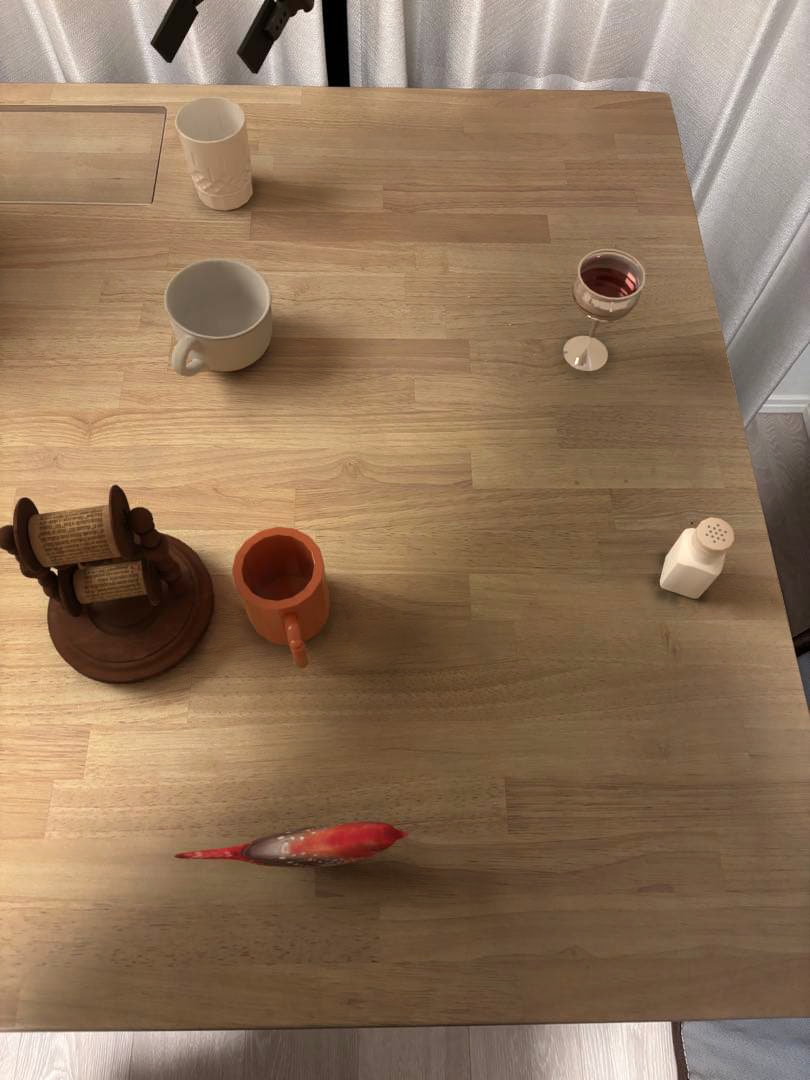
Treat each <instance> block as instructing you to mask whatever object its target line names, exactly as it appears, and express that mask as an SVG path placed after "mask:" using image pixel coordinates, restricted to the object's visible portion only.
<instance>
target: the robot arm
mask: <svg viewBox="0 0 810 1080" xmlns="http://www.w3.org/2000/svg"><path fill="white" fill-rule="evenodd" d="M204 1H205V0H172V1H171V2H170V5H169V6H168V9H167V10H166V12H165V14H164V15H163V18H162V20H161V22H160V24H159V26H158V28H157V29H156V31H155V33H154V35H153V37H152V39H151V40H150V42H149V44H150V46H151V47H152V48H153V49H154V50H155V51H156V52H157V53H158V54H159V55H160V57H161V58H162V59H163V61H165V63H168V64H172V63H173V61H174V59H175V57H176V55H177V53H178V52H179V50H180V48H181V46H182V44H183V42H184V40H185V39H186V37H187V35H188V33H189V31H190V30H191V28H192V26H193V24H194V22H195V20H196V19H197V17H198V15H199V13H200V12H199V10H198V9H197V7H199V5H200V4H202V3H203V2H204ZM314 7H315V0H263V2H262V4H261V5H260V7H259V9H258V11H257V13H256V15H255V17H254V18H253V21H252V23H251V25H250V26H249V29H248V30H247V32H246V34H245V36H244V37H243V39H242V41H241V43H240V45H239V47H238V48H237V51H236V52H235V53H236V54H237V56H238V58H240V59H241V61H242V62H243V63H244V65H245V66H246V67H247V69H248V70H249V71H250V72H251V74H255V75H258V74H259V72H260V71H261V68H262V67H263V64H264V63H265V61H266V59H267V58H268V55H269V53H270V51H271V49H272V48H273V46H274V44H275V42H276V41H278V40H279V38H280V37H281V35H282V33H283V32H284V30H285V28H286V26H287V24H288V22H289V20H290V19H291V18H294V17H295V16H296V15H297V14H298V12H299V11H303V13H306V14H308V13H310V12H311V11H312V10H313V9H314Z"/></svg>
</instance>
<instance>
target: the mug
mask: <svg viewBox="0 0 810 1080" xmlns="http://www.w3.org/2000/svg"><path fill="white" fill-rule="evenodd" d="M231 573H232V579H233V583H234V587H235V589H236V592H237V594H238V596H239V598H240V601H241V603H242V607H243V608H244V611H245V612H246V615H247V618H248V620H249V622H250V623H251V625H252V627H253V629H254V630H255V631H256V632H257V634H258V635H259V636H260V637H262V638H263V639H265V640H266V641H268V642H270V643H272V644H276V645H280V646H289V649H290V652H291V655H292V658H293V661H294V664H295V666H296V667H297V668H298V669H305V668H307V667H308V665H309V663H310V661H309V656H308V652H307V647H306V643H305V642H307V641H309V640H311V639H312V638H314V637H315V636H316V635H317V634H318V633H319V632H320V631H321V630H322V629H323V627H324V626H325V625H326V623H327V621H328V618H329V615H330V609H331V597H330V592H329V586H328V585H329V584H328V581H327V573H326V568H325V563H324V558H323V555H322V551H321V549H320V547H319V546H318V544H317V543H316V542H315V541H314V540H313V538H312V537H311V536H310V535H308V534H306V533H304V532H302V531H300V530H298V529H297V528H292V527H284V526H274V527H271V528H266V529H262V530H259V531H258V532H257V533H255V534H253V535H252V536H250V537H248V538H247V539H246V540H245V541H244V542H243V543H242V545H241V546H240V548H239V549H238V550H237V551H236V553H235V555H234V560H233V563H232V568H231Z"/></svg>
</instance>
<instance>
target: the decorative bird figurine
mask: <svg viewBox="0 0 810 1080" xmlns="http://www.w3.org/2000/svg"><path fill="white" fill-rule="evenodd" d="M409 835H410V833H409V832H406V831H403V830H401V829H398V828H395V827H394V825H392V824H390V823H387V822H382V821H359V822H349V823H348V822H347V823H333V824H324V825H316V826H307V827H302V828H296V829H291V830H286V831H281V832H278V833H274V834H270V835H267V836H262V837H260V838H256V839H253V840H251V841H248V842H246V843H244V844H240V845H235V846H229V847H220V848H212V849H203V850H194V851H187V852H179V853H177V854H175V855H174V856H173V857H174V858H176V859H182V860H232V861H234V860H235V861H241V862H245V863H249V864H253V865H257V866H264V867H278V868H290V869H315V868H327V867H336V866H342V865H346V864H353V863H356V862H359V861H363V860H365V859H369V858H371V857H373V856H375V855H376V854H380V853H382V852H384V851H386V850H388V849H389V848H390V847H392V846H393V845H394V844H395V843H396V842H397V841H398V840H401V839H404V838H405V837H408V836H409Z"/></svg>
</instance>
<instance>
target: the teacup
mask: <svg viewBox="0 0 810 1080" xmlns="http://www.w3.org/2000/svg"><path fill="white" fill-rule="evenodd" d="M163 297H164V298H163V303H164V310H165V312H166V314H167V316H168V318H169V321H170V325H171V328H172V332H173V335H174V337H175V340H176V342H177V343H176V344H175V346H174V348H173V351H172V354H171V359H170V362H171V368H172V370H173V371H174V373H176V374H177V375H179V376H181V377H185V378H191V377H194V376H196V375H198V374H199V373H205V372H206V371H208V370H209V371H215V372H234V371H238V370H241V369H244V368H246V367H249V366H251V365H252V364H253V363H256V361H258V360H259V359H260V358H261V357H262V356H263V355H264V353H266V351H267V349H268V348H269V346H270V342H271V340H272V335H273V311H272V300H273V299H272V298H273V297H272V291H271V287H270V285H269V283H268V281H267V280H266V278H265V277H264V276H263V275H262V273H261V272H259V271H258V270H257V268H254V267H253V266H251V265H249V264H248V263H246V262H242V261H239V260H236V259H233V258H225V257H214V258H213V257H211V258H206V259H201V260H198V261H195V262H192V263H190V264H188V265H186V266H184V267H183V268H181V269H180V270H178V271H177V272H176V273H175V274H174V275H173V276H172V278H171V279H170V280H169V282H168V284H167V286H166V288H165V291H164V296H163ZM187 359H189V360H190V362H189V363H188V364H187Z"/></svg>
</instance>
